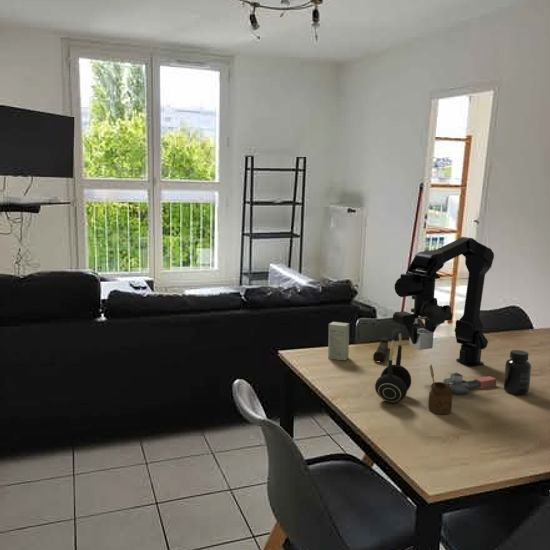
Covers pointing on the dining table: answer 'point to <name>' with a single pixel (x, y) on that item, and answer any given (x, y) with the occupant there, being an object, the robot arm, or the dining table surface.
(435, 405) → the utensil holder
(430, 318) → the robot arm
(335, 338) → the skincare box
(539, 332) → the dining table surface
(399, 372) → the headphones
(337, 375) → the dining table surface
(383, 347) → the hand tool
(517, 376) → the supplement bottle
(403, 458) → the dining table surface
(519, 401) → the dining table surface
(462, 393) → the ratchet
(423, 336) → the square hollow container
